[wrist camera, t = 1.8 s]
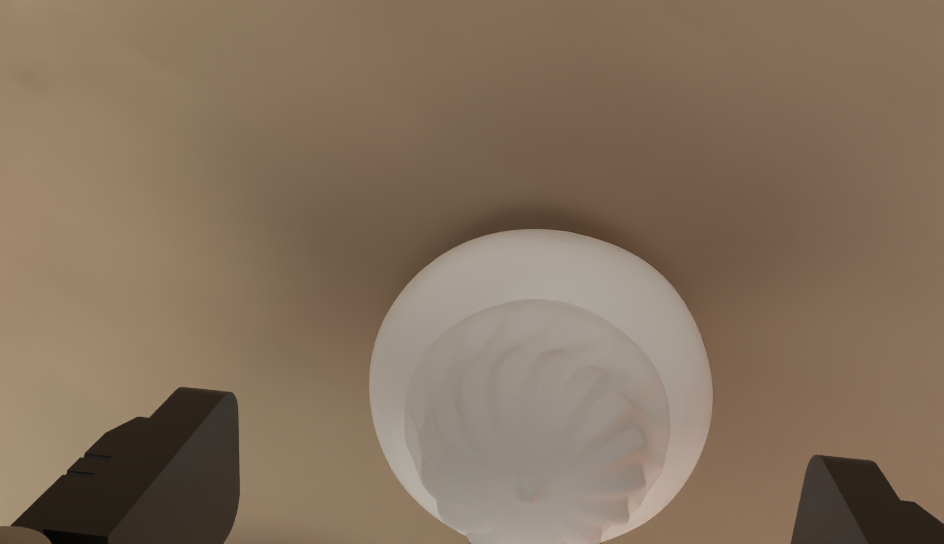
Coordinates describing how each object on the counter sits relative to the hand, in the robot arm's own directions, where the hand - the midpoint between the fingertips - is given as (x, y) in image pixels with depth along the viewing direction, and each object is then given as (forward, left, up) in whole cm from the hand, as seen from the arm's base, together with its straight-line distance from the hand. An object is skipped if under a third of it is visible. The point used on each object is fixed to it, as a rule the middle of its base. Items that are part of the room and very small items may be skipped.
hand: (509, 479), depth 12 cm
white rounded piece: (0, 0, -7) cm, 7 cm away
